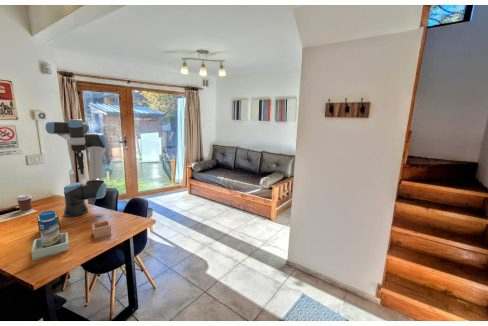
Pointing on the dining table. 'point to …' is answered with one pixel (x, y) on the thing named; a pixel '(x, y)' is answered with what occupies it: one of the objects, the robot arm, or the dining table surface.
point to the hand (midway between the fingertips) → (81, 176)
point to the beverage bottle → (49, 229)
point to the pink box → (101, 229)
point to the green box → (49, 248)
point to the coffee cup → (24, 202)
